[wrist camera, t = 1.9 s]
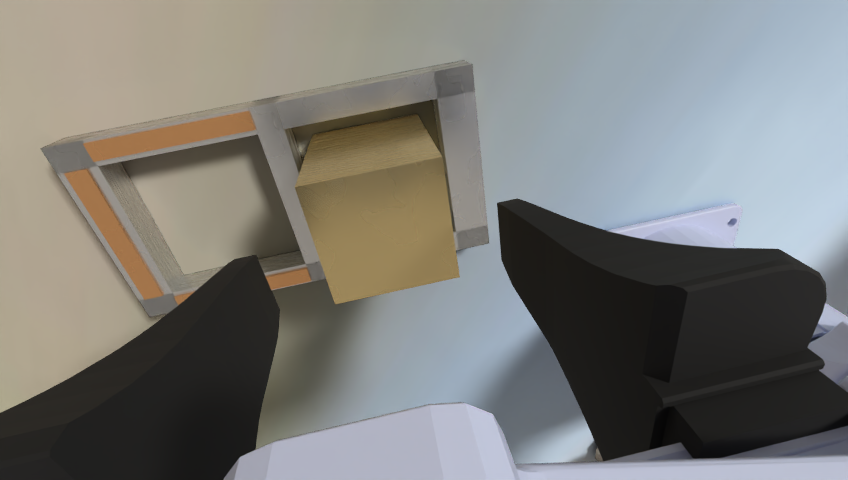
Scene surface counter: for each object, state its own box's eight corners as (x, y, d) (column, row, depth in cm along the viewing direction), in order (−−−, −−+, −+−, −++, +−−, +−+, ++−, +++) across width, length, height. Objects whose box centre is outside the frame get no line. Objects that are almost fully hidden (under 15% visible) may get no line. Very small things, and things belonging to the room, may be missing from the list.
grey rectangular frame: (481, 229, 21) (489, 244, 20) (162, 298, 20) (148, 318, 19) (463, 59, 17) (472, 64, 16) (64, 138, 16) (38, 149, 15)
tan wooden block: (432, 207, 20) (459, 277, 15) (340, 226, 20) (335, 304, 14) (416, 113, 18) (442, 156, 12) (312, 134, 17) (294, 187, 12)
